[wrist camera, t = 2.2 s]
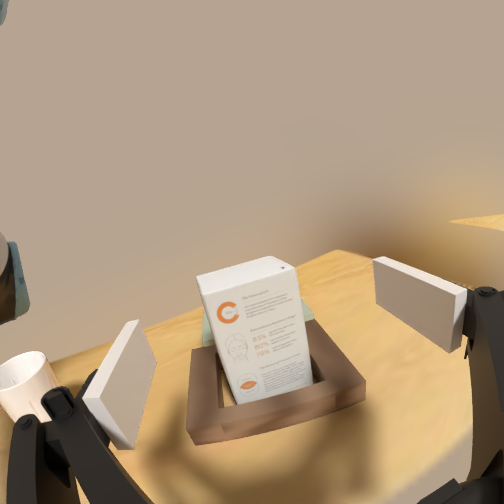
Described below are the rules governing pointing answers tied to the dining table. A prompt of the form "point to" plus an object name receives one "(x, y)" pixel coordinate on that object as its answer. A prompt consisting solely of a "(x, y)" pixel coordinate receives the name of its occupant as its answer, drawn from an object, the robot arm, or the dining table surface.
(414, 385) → the dining table surface
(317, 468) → the dining table surface
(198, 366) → the walnut holder
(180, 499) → the dining table surface
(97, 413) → the robot arm
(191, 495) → the dining table surface
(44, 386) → the white cup
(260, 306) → the small box
